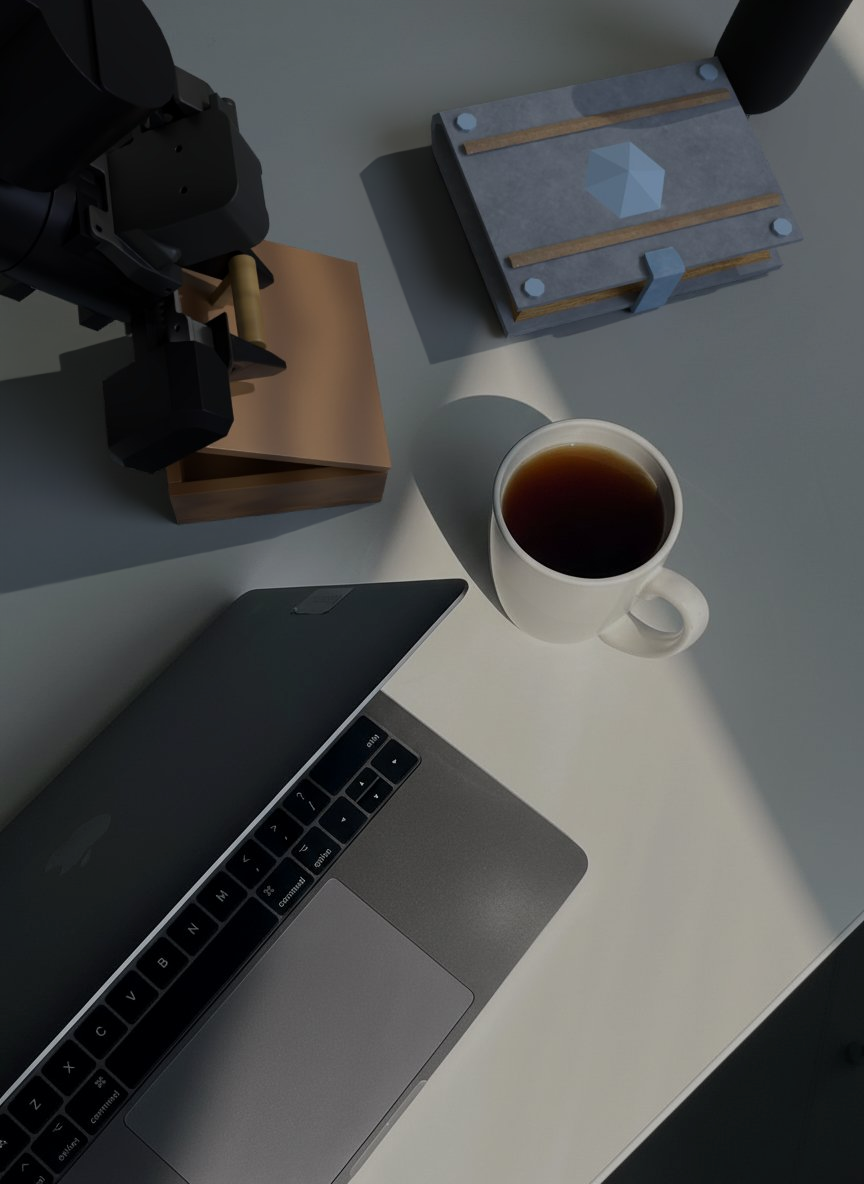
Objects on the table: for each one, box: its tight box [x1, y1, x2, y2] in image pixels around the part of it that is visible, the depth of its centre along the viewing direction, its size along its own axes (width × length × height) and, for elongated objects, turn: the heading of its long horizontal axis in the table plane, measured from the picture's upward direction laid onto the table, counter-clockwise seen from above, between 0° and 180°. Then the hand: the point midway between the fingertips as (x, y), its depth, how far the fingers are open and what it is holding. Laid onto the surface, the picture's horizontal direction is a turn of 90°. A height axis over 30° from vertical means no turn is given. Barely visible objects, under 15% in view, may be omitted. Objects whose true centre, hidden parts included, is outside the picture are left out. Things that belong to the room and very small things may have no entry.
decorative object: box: [712, 0, 854, 116], centre depth 70 cm, size 7×7×15 cm
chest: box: [165, 452, 389, 525], centre depth 63 cm, size 13×14×5 cm
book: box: [430, 56, 805, 339], centre depth 71 cm, size 21×16×5 cm
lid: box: [178, 239, 393, 472], centre depth 56 cm, size 13×14×5 cm
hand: (274, 326), depth 56 cm, fingers closed on lid, 5 cm apart
